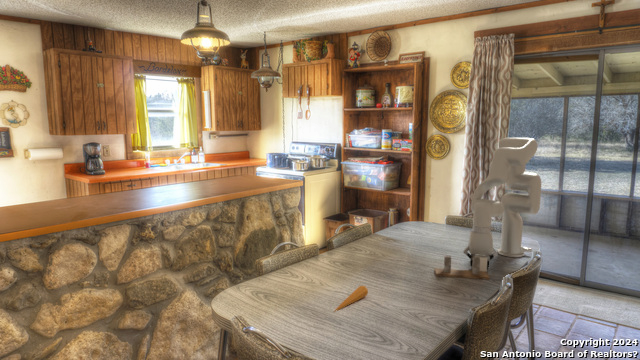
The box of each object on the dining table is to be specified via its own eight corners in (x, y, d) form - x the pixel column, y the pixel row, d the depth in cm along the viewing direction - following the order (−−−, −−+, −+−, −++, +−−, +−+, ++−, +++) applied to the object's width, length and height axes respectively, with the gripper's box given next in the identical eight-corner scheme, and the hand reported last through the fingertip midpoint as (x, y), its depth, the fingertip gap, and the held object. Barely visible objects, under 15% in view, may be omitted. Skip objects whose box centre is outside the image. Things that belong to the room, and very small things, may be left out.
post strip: (486, 273, 181) (486, 256, 180) (489, 279, 175) (490, 261, 173) (434, 270, 186) (435, 253, 185) (436, 275, 179) (436, 258, 178)
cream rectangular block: (484, 268, 188) (485, 254, 187) (486, 272, 183) (487, 258, 182) (472, 267, 189) (473, 253, 188) (474, 271, 184) (475, 257, 183)
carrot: (362, 295, 160) (358, 284, 161) (371, 294, 157) (367, 283, 158) (331, 318, 146) (326, 306, 146) (340, 317, 143) (335, 305, 143)
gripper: (499, 228, 186) (497, 266, 188) (460, 226, 189) (458, 264, 191) (503, 232, 178) (501, 272, 181) (462, 230, 182) (461, 269, 184)
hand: (479, 267), depth 186 cm, fingers closed on cream rectangular block, 5 cm apart
